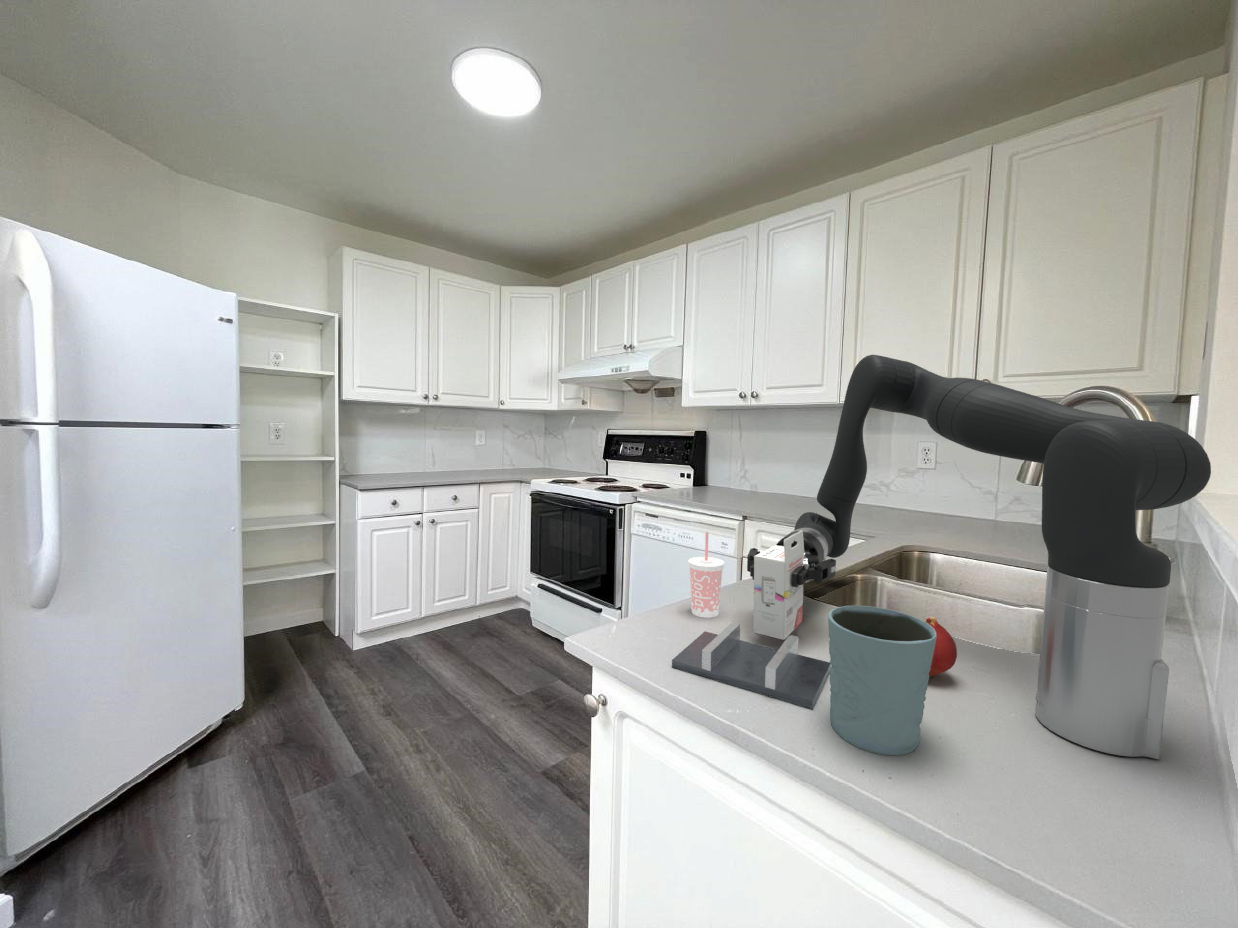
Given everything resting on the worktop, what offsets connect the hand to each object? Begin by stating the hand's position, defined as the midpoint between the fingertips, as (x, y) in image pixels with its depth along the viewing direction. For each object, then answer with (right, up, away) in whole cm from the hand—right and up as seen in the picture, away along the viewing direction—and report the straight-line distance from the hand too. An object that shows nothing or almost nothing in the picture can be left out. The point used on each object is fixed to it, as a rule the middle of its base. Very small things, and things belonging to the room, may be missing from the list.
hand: (774, 576), depth 75 cm
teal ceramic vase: (+5, -12, -20) cm, 24 cm away
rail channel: (-5, -11, -7) cm, 14 cm away
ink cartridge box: (+1, -9, +3) cm, 9 cm away
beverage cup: (-8, -9, +13) cm, 18 cm away
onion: (+18, -11, -8) cm, 22 cm away
